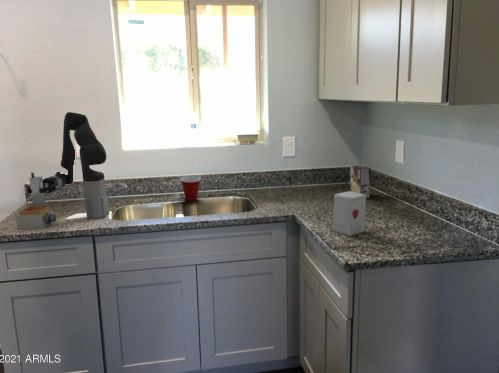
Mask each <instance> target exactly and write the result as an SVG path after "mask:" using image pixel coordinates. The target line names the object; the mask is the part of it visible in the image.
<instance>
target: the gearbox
mask: <svg viewBox="0 0 499 373" xmlns="http://www.w3.org/2000/svg"><path fill="white" fill-rule="evenodd" d="M15 220H16V228H17V230H43V229H45V228H47V227H49V226H50V225H52V224H53V223H54V222H57V215H55V214H54V211H53V208H50V206H49V205H46V206H33V205H32V206H27V207H25V208H24V209H21V210H19V211H18V214H15Z"/></svg>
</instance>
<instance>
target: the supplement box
mask: <svg viewBox="0 0 499 373" xmlns="http://www.w3.org/2000/svg"><path fill="white" fill-rule="evenodd" d="M333 195H334V196H333V218H332V219H333V220H332V221H333V222H332V224H333V225H332V226H333V227H332V231H334V232H338V233H340V234H344V235H347V236H353V235H358V234H360V233H363V232H365V230H366V225H365V224H366V207H367V206H366V202H367V198H366V195H364V194H359V193H355V192H350V190H349V191H344V192H340V193H335V194H333Z"/></svg>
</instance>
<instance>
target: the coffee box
mask: <svg viewBox="0 0 499 373" xmlns="http://www.w3.org/2000/svg"><path fill="white" fill-rule="evenodd" d="M349 182H350V183H349V191H350V192H355V193H359V194H364V195H366V199H368V198H370V192H371V191H370V190H371V188H370V187H371V167H369V166H366V165H365V166H364V165H352V166H350V181H349Z"/></svg>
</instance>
